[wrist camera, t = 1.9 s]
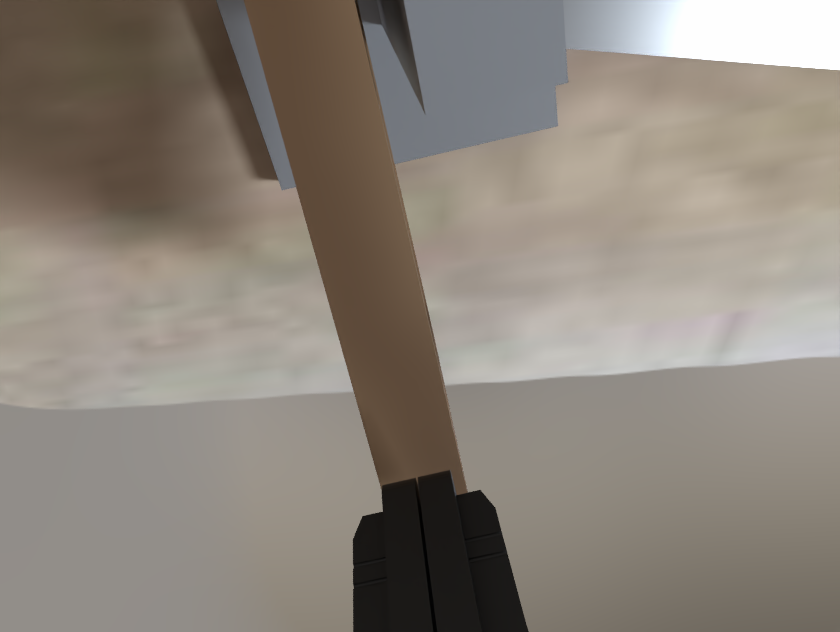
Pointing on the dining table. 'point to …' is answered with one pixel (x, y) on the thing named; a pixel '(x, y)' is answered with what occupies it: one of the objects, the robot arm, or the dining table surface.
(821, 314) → the dining table surface
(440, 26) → the display stand
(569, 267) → the dining table surface
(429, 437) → the picture frame
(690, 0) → the play button award
